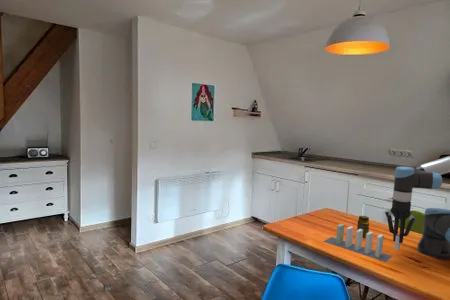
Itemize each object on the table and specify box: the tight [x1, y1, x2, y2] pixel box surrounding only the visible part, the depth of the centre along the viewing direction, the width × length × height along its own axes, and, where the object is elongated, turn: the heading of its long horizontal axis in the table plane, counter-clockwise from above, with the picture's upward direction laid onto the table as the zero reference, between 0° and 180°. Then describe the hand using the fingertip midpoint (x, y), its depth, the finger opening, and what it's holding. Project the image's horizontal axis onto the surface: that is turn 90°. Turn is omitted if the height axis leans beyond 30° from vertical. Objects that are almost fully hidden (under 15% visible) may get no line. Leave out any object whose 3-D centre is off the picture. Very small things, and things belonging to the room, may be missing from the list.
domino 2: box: [344, 225, 354, 248], centre depth 162 cm, size 2×5×10 cm, turn 135°
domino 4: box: [364, 231, 374, 254], centre depth 155 cm, size 2×5×10 cm, turn 135°
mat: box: [322, 236, 393, 263], centre depth 159 cm, size 32×10×1 cm, turn 45°
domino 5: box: [374, 233, 384, 257], centre depth 151 cm, size 2×5×10 cm, turn 135°
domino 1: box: [335, 223, 345, 245], centre depth 165 cm, size 2×5×10 cm, turn 135°
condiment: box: [356, 215, 370, 239], centre depth 176 cm, size 7×8×12 cm
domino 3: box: [354, 229, 364, 251], centre depth 158 cm, size 2×5×10 cm, turn 135°
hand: (397, 248), depth 145 cm, fingers closed
